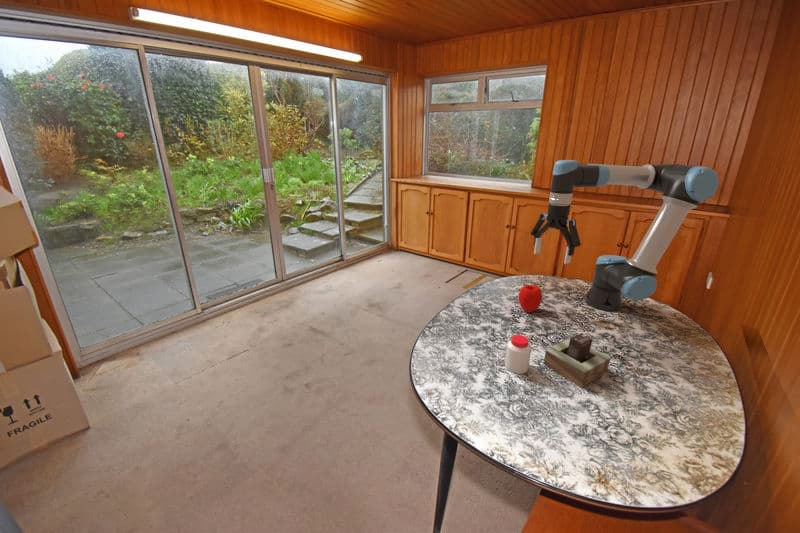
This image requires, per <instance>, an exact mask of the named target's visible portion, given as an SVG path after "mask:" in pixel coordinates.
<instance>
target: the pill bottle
mask: <svg viewBox="0 0 800 533" xmlns="http://www.w3.org/2000/svg"><path fill="white" fill-rule="evenodd" d="M510 338H511V339H510V340H509V341H507V344H506V351H505V360H504V367H505V368H506V370H507V371H509V372H511V373H514V374H519V375H520V374H525V373H527V372H528V371H529V369H530V368H529V367H530V360H531V355H532V354H531V353H532V345H531V344H530V343H529V342H530V340H529V338H528V337H527V336H525V335H522V334H514V335H512V336H511V337H510Z"/></svg>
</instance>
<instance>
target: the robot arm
mask: <svg viewBox="0 0 800 533" xmlns="http://www.w3.org/2000/svg"><path fill="white" fill-rule="evenodd" d="M551 177H552V178H551V186H550V194H549V200H548V202H549V204H548V206H547V213H546V212H545V213H540V215H539V218H538V220H537V221H536V224H535V225H534V226H533V228H532V230H531V232H530V235H531V236H533V237H534V239H533V245H534V250H533V254H534V255H536V254H537V255H538V254H540V253H541V248H542V241H543V237H542V235H543V234H545V232H547V231H548V230H549V229H550V228H551V229H555V230H559V232H561V234H562V236H563V238H564V239H565V242H566V243H567V245H568V246H566V248H565V253H564V260H563V261H564V262H563V264H564V265H567V264H570V263H571V261H572V259H571V258H572V256H574V253H575V248H578V247H581V245H582V243H581V240H580V236H579V232H578V229H577V228H578V227H577V219H569V216H570V212H571V204H572V201H573V200H572V199H573V195H574V194H573V192H574V188H598V187H604V186H606V185H610V186H611V185H612V186H613V185H614V186H629V187H630V186H631V187H637V188H639V189H640V190H650V191H654V192H658V193H662V196H661V199H662V201H663V203H662V205H661V206H660V208H659V209H658V212H657V213H656V215H655V217H654V218H653V221H652V222H651V224H650V226H649V228H648V229H647V231H646V233H645V235H644V236H643V238H642V240H641V241H640V244H638V247H637V249H636V250H635V252H634V254H633V256H632V258H628V257H625V256H622V255H621V256H620V255H613V254H605V255H604V254H603V255H600V256H598V258H597V260H596V262H595V269H594V272H593V273H594V274H593V279H592V284H591V286H590V288H589V289H588V290H587V293H586V294H585V297H584V303H586V305H588V306H589V307H591V308H594V309H597V310H599V311H605V312H607V311H608V312H616V311H620V310H621V309H622V307H623V304H624V302H623V297H624V298H627V299H629V300H631V301H639V302H640V301H643V300H644V299H645V300H646V299H648V298H650V297H651V296H652V295H654V294H655V292H656V290H657V288H658V281H657V280H656V278H655V277H656V276H657V274H658V271H657V268H656V267H657V265H658V264H659V262H660V260H662V257H663V256H664V254H665V252H666V250H667V249H668V248H669V246H670V244H671V243H672V240H673V239H674V237H675V235H676V234H677V232H678V230H679V228H681V225H682V223H683V222H684V221H685V219H686V216H688V214H689V212H690V211H691V210H693V209H696V208H698V206H700V205H699V204H701V202H705V201H708V200H709V199H710V198H712V197H713V196H714V195H715V194H716V192H717V190H718V188H719V183H720V181H719V179H720V178H719V176H718V173H717V172H716V171H715V170H714V169H712V168H710V167H707V166H702V165H692V164H691V165H690V164H679V163H664V164H663V163H661V164H648V163H647V164H644V165H642V166H639V165H638V166H634V165H619V164H618V165H617V164H604V163H603V164H602V163H599V164H598V163H583V162H582V163H581V162H578V161H577V160H574V159H559V160H557V161H555V163H554V166H553V171H552V176H551ZM545 221H547V222H546V223H545ZM542 226H543V227H542Z"/></svg>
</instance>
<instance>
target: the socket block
mask: <svg viewBox="0 0 800 533" xmlns="http://www.w3.org/2000/svg"><path fill="white" fill-rule="evenodd" d="M570 338H571V337H569V338H567V339H565V340H562V341H561V342H558V343H557V344H554V345H552V346H550V347H548V348H546V349H545V354H544V361H543V365H544V366H546V367H548V368H549V369H551V370H552V371H554V372H555V373H558V374H559V375H561V376H562V377H564V378H566V380H569V382H572V383H573V384H575V385H577V386H578V387H580V388H583V387H585V386H588V384H589V383H592V382H594V381H595V380H596V379H598V378H600V377H601V376H604V375H605V374H607V373H608V369H609V366H610V361H611V356H609V355H607V354H605V353H603V352H602V351H600V350H597V349H596V348H594V347H592V346H591V348H590V351H589V355H588V359H587V361H585V362H583V363H580V362H578V361H576V360H575V359H573V358H571V357H569V356H567V351H568V346H569V342H570Z"/></svg>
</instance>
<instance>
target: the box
mask: <svg viewBox="0 0 800 533" xmlns="http://www.w3.org/2000/svg"><path fill="white" fill-rule="evenodd" d="M569 338H570V342H569V346H568V351H567V356H569V357H571V358H573V359H575V360H576V361H578V362H580V363H583V362H585V361H587V359H588V355H589V351H590V348H591V347H592V344H593V338H591V337H590V336H588V335H586V334H584V333H583V332H582V333H579V334H575V335H574V336H572V337H569Z"/></svg>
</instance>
